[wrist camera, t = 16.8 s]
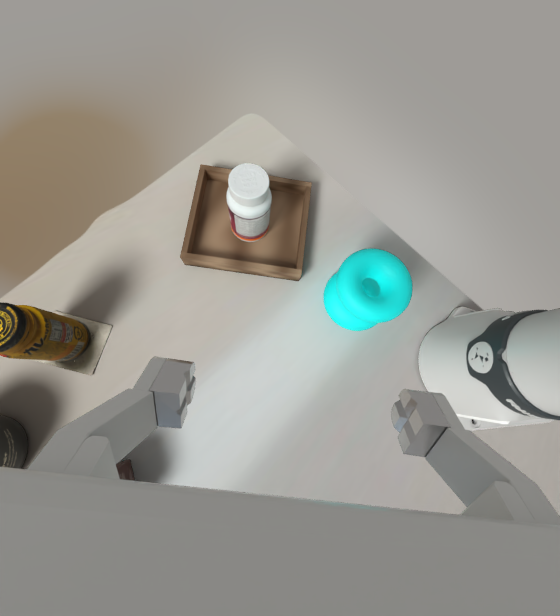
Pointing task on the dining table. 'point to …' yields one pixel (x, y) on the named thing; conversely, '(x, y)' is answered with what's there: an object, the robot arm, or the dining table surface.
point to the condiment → (51, 337)
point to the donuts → (368, 290)
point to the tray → (235, 252)
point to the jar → (12, 443)
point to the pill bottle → (249, 202)
